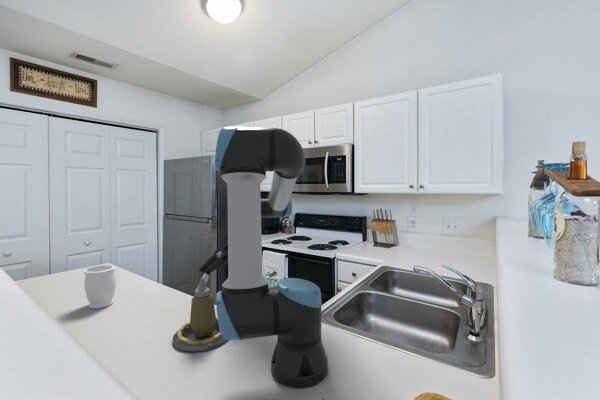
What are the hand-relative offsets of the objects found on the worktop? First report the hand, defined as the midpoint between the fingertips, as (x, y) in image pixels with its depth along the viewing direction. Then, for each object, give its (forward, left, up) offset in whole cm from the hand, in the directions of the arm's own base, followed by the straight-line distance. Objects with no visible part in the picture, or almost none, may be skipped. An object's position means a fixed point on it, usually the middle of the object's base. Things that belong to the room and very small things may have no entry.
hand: (215, 293), depth 99 cm
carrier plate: (-2, +8, -11) cm, 14 cm away
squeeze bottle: (-2, +8, -10) cm, 13 cm away
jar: (+53, +14, -11) cm, 56 cm away
